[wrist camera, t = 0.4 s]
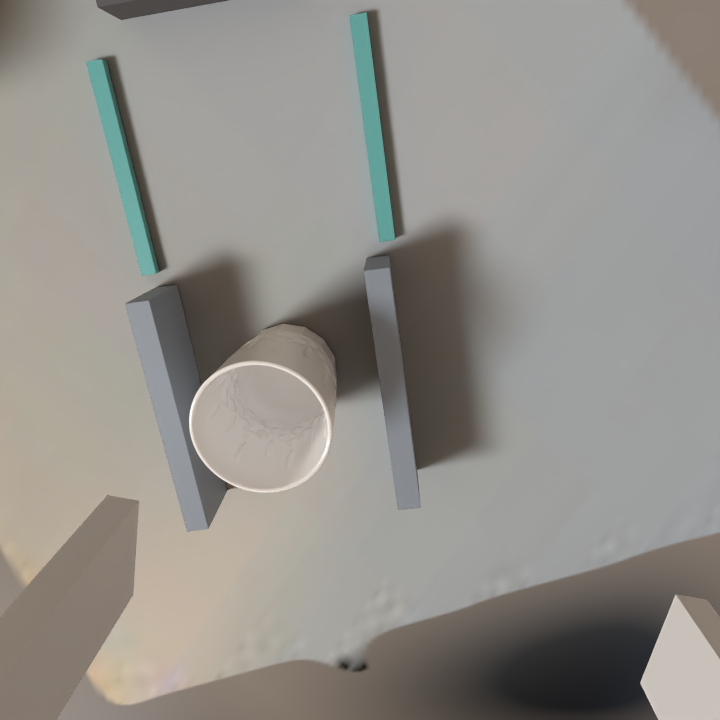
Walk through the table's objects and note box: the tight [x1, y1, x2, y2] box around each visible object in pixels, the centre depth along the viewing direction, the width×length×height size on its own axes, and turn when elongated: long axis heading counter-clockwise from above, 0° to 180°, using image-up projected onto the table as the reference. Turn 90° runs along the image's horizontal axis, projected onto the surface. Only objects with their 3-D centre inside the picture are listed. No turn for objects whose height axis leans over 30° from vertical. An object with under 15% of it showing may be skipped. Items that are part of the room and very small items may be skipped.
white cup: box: [189, 324, 337, 493], centre depth 37 cm, size 8×8×10 cm
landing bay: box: [86, 13, 395, 275], centre depth 37 cm, size 13×17×1 cm
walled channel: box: [125, 255, 421, 531], centre depth 40 cm, size 16×16×5 cm
